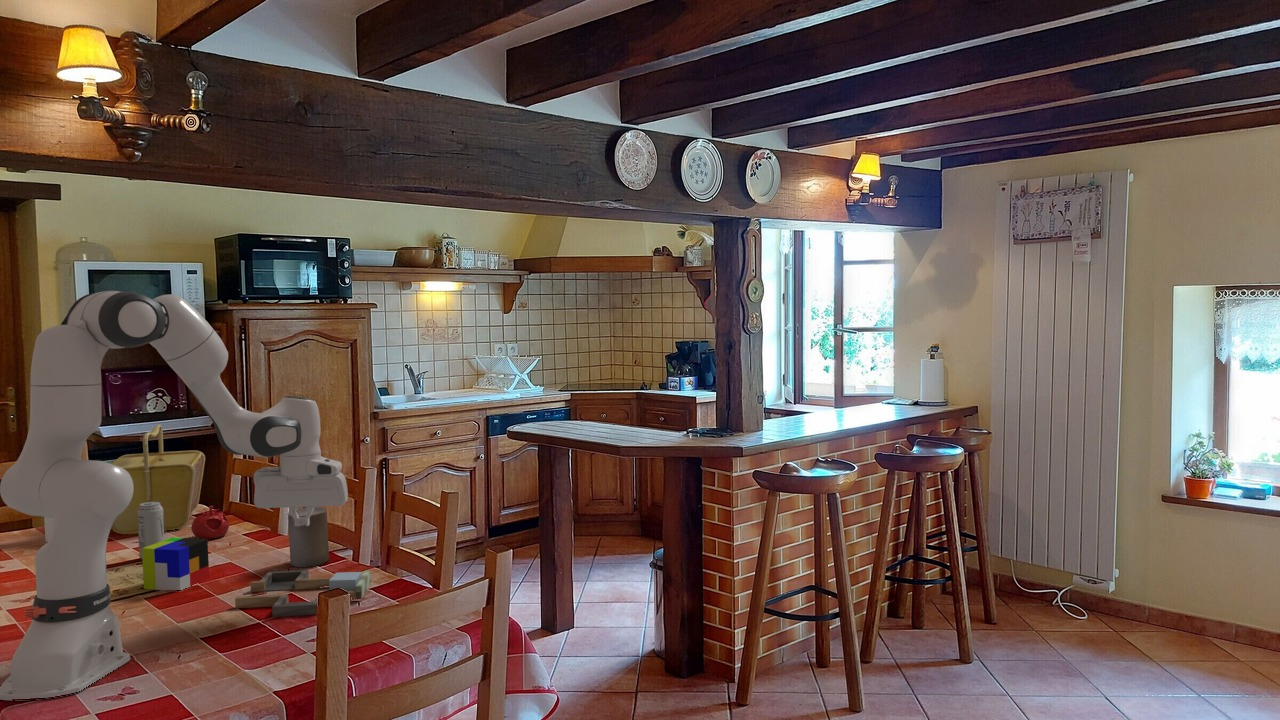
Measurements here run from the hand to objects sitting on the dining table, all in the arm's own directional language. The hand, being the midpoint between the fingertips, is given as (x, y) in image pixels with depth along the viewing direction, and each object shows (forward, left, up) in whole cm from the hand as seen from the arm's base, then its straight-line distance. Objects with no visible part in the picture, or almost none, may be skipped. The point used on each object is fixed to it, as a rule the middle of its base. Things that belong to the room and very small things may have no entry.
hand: (302, 525), depth 201 cm
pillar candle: (+28, +5, -17) cm, 33 cm away
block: (0, -9, -17) cm, 19 cm away
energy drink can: (+39, +48, -17) cm, 65 cm away
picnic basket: (+81, +63, -17) cm, 104 cm away
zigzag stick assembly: (0, 0, -17) cm, 17 cm away
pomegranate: (+60, +40, -17) cm, 75 cm away
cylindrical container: (+66, +84, -17) cm, 109 cm away
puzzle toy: (+15, +33, -17) cm, 40 cm away
